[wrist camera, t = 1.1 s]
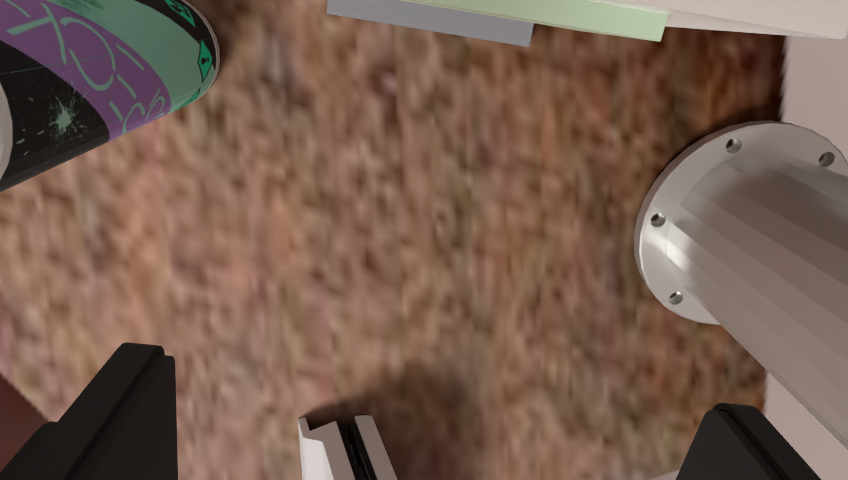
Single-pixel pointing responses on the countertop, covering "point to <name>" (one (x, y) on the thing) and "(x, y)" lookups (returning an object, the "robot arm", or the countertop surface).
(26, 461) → the robot arm
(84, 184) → the countertop surface
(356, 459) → the white bevelled plastic case
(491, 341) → the countertop surface
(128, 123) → the spray can
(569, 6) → the mounted unit
